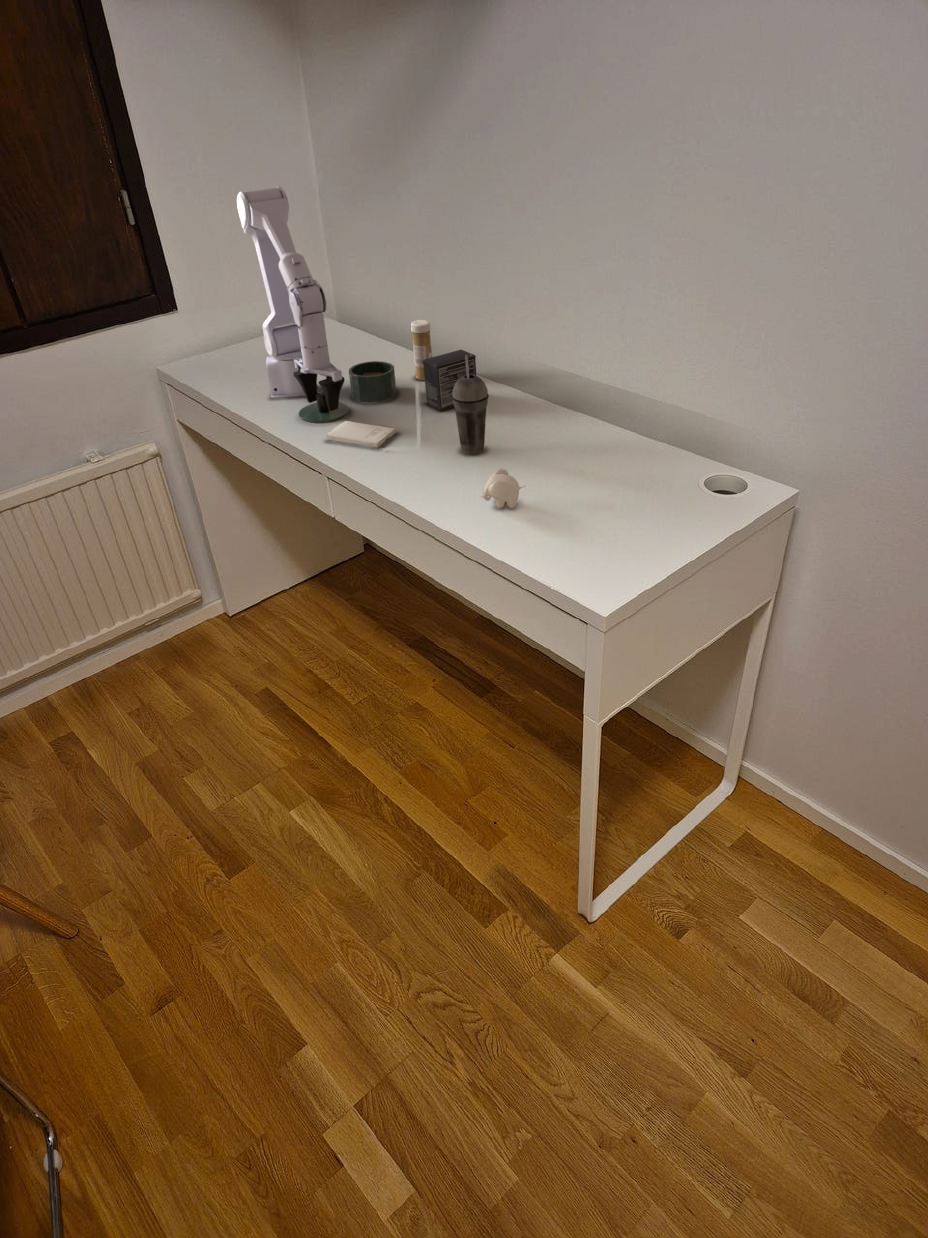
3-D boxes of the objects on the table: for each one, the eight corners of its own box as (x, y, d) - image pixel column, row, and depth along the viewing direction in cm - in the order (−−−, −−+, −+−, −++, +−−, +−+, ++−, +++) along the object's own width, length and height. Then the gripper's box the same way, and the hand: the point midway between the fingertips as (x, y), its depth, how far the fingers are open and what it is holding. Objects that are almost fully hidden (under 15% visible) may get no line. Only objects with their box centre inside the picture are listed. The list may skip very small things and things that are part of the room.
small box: (463, 392, 202) (461, 347, 196) (479, 400, 197) (477, 354, 191) (425, 403, 197) (421, 358, 191) (440, 411, 193) (437, 365, 187)
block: (364, 397, 201) (362, 379, 198) (365, 390, 204) (363, 372, 202) (383, 396, 201) (381, 378, 198) (383, 389, 204) (381, 371, 202)
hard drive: (346, 427, 188) (396, 434, 184) (326, 441, 183) (377, 449, 178) (345, 419, 188) (395, 427, 183) (325, 434, 182) (377, 442, 177)
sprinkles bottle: (437, 377, 211) (434, 321, 203) (423, 382, 209) (419, 326, 201) (425, 373, 214) (421, 317, 206) (411, 378, 211) (406, 322, 204)
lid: (297, 426, 190) (293, 404, 187) (302, 407, 199) (298, 386, 196) (347, 423, 190) (345, 401, 187) (350, 404, 199) (347, 382, 196)
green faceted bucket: (351, 405, 198) (347, 378, 195) (353, 389, 207) (350, 362, 203) (396, 402, 199) (393, 375, 195) (396, 386, 207) (394, 359, 203)
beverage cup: (495, 444, 177) (492, 347, 166) (484, 459, 172) (480, 360, 160) (461, 441, 179) (456, 345, 168) (449, 456, 174) (443, 358, 162)
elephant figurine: (482, 495, 159) (481, 466, 156) (526, 495, 158) (526, 466, 155) (479, 513, 154) (478, 483, 150) (524, 513, 153) (524, 483, 149)
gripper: (279, 343, 187) (289, 403, 195) (319, 356, 179) (328, 418, 186) (305, 334, 191) (314, 393, 199) (346, 347, 183) (354, 408, 190)
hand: (323, 405), depth 193 cm, fingers open, 7 cm apart
